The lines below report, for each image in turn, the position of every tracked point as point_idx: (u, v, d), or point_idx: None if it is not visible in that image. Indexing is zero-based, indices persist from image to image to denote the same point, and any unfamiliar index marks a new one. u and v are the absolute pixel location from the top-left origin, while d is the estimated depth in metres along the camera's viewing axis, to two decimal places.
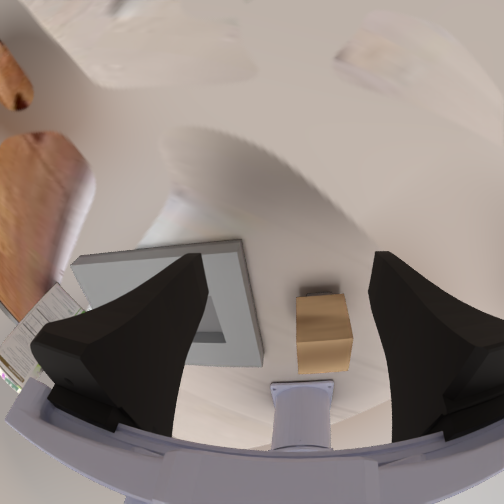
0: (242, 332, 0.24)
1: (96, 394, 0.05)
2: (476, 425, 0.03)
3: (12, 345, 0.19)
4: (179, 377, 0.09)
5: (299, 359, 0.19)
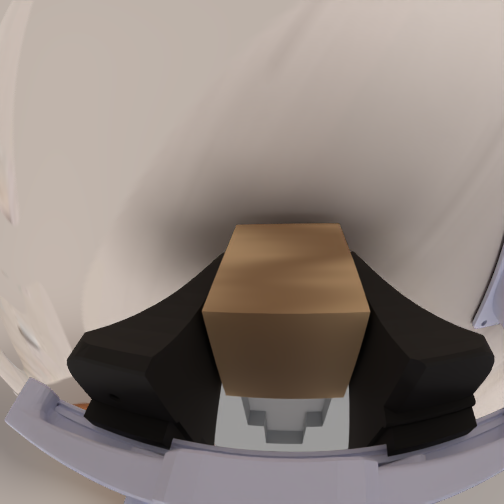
0: None
1: (151, 410, 0.05)
2: (423, 442, 0.04)
3: None
4: (221, 382, 0.09)
5: (284, 396, 0.08)
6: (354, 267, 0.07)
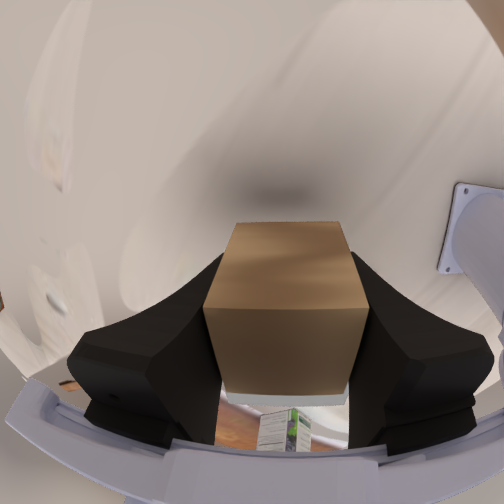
0: None
1: (151, 410, 0.05)
2: (424, 442, 0.04)
3: None
4: (221, 382, 0.09)
5: (284, 393, 0.08)
6: (353, 264, 0.08)
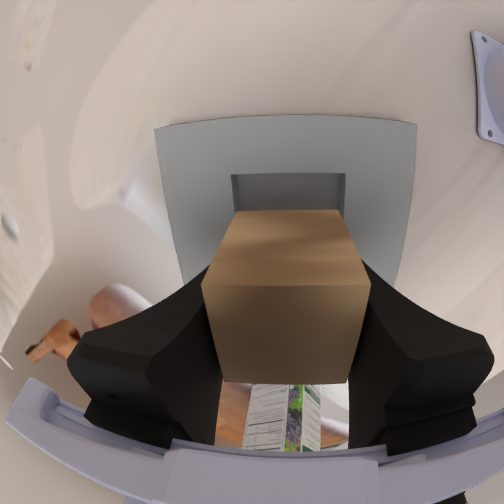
0: (317, 137, 0.12)
1: (151, 410, 0.05)
2: (424, 442, 0.04)
3: None
4: (220, 382, 0.09)
5: (284, 382, 0.08)
6: (353, 246, 0.08)
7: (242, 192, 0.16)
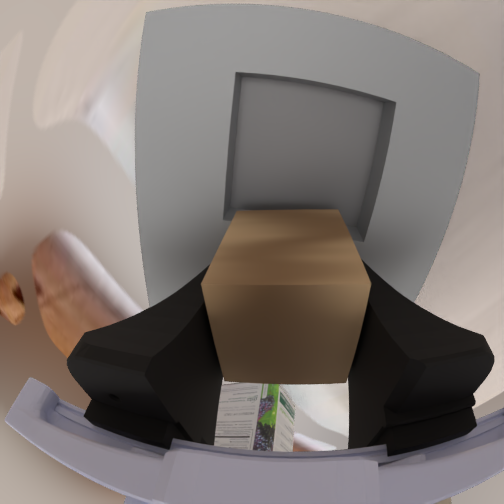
0: (365, 47, 0.07)
1: (151, 410, 0.05)
2: (423, 442, 0.04)
3: None
4: (220, 382, 0.09)
5: (285, 381, 0.08)
6: (353, 245, 0.08)
7: (245, 110, 0.10)
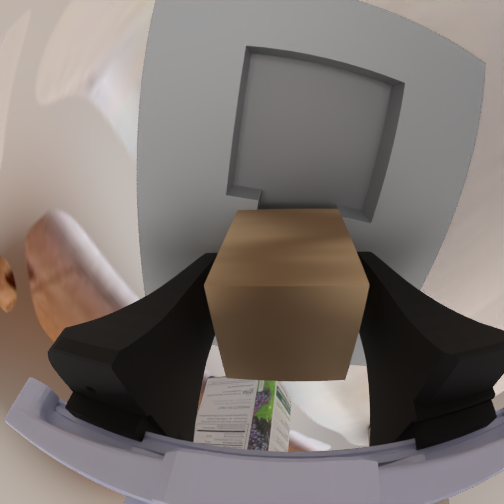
0: (375, 29, 0.06)
1: (123, 403, 0.05)
2: (450, 434, 0.04)
3: None
4: (201, 380, 0.09)
5: (285, 378, 0.08)
6: (353, 246, 0.08)
7: (253, 86, 0.10)
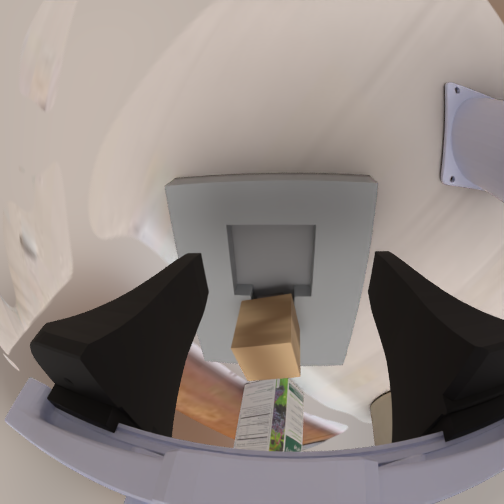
0: (293, 197, 0.17)
1: (96, 394, 0.05)
2: (476, 425, 0.03)
3: None
4: (179, 377, 0.09)
5: (272, 378, 0.19)
6: (290, 321, 0.18)
7: (235, 235, 0.20)
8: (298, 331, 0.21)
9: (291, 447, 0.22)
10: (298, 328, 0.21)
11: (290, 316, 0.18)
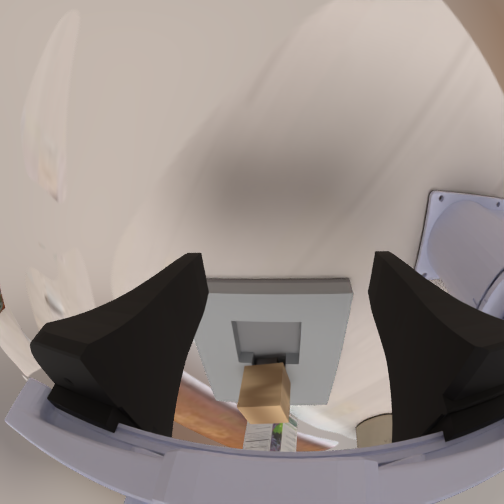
0: (283, 305, 0.21)
1: (96, 394, 0.05)
2: (476, 425, 0.03)
3: None
4: (179, 377, 0.09)
5: (268, 423, 0.23)
6: (280, 388, 0.23)
7: (239, 321, 0.25)
8: (288, 387, 0.26)
9: None
10: (289, 384, 0.26)
11: (281, 383, 0.23)
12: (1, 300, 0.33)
